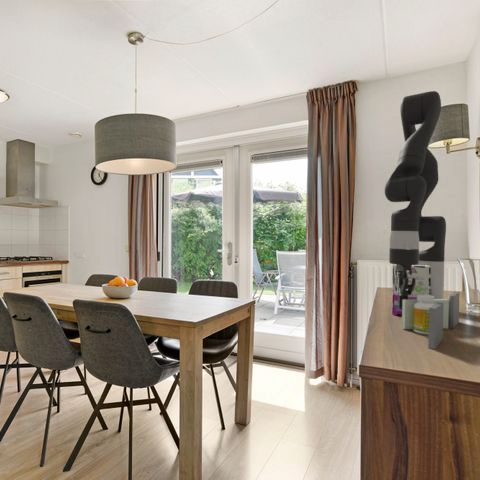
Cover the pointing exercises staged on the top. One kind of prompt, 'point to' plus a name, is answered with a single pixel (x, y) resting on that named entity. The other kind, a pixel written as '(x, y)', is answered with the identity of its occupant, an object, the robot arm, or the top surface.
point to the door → (409, 312)
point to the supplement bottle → (422, 313)
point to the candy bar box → (420, 287)
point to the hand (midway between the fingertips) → (402, 308)
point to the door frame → (437, 319)
